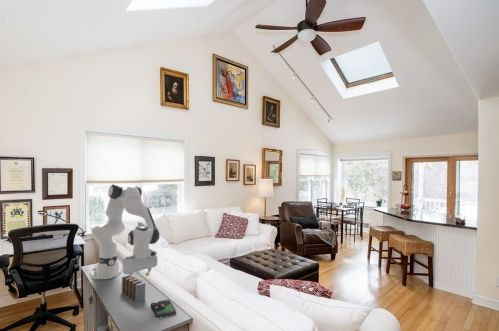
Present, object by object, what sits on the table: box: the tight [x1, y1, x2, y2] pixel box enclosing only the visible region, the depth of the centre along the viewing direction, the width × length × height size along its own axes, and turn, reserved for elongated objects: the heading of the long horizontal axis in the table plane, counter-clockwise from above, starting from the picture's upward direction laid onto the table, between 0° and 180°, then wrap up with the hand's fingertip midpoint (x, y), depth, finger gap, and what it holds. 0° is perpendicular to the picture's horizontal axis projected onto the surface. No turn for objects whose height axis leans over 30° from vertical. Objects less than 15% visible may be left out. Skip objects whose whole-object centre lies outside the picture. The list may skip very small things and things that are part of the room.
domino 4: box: [131, 279, 143, 301], centre depth 161 cm, size 2×5×10 cm, turn 140°
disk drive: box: [150, 299, 177, 319], centre depth 147 cm, size 10×3×15 cm
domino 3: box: [127, 277, 139, 299], centre depth 163 cm, size 2×5×10 cm, turn 139°
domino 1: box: [121, 274, 130, 295], centre depth 169 cm, size 2×5×10 cm, turn 140°
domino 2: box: [124, 276, 136, 297], centre depth 166 cm, size 2×5×10 cm, turn 139°
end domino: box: [134, 281, 146, 303], centre depth 158 cm, size 2×5×10 cm, turn 139°
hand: (140, 277), depth 158 cm, fingers open, 8 cm apart
